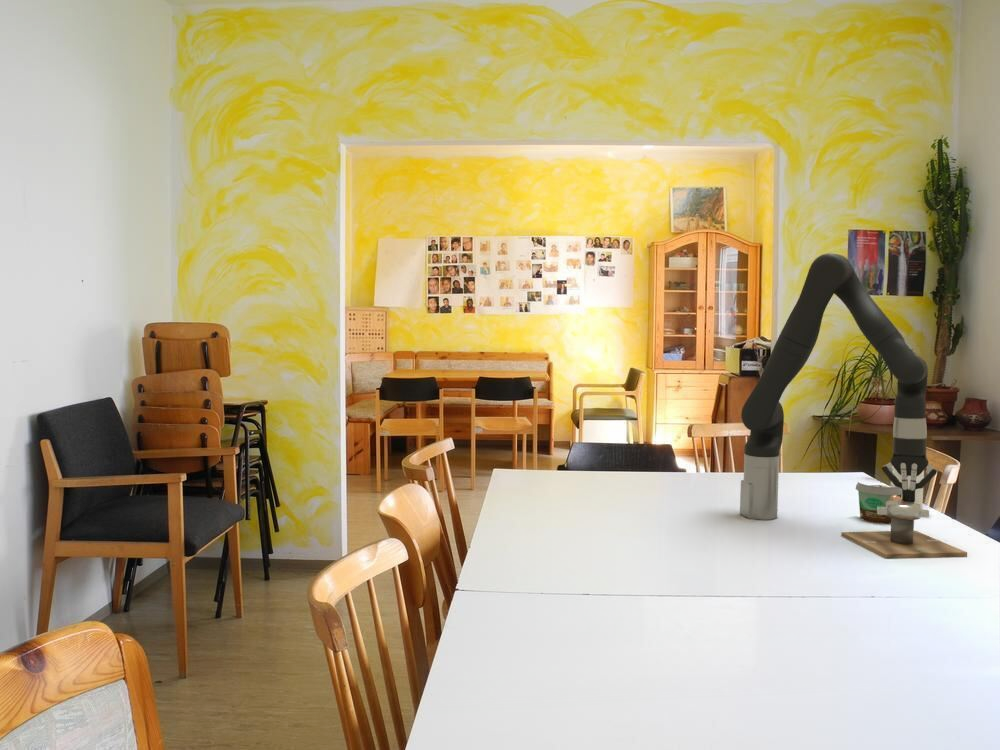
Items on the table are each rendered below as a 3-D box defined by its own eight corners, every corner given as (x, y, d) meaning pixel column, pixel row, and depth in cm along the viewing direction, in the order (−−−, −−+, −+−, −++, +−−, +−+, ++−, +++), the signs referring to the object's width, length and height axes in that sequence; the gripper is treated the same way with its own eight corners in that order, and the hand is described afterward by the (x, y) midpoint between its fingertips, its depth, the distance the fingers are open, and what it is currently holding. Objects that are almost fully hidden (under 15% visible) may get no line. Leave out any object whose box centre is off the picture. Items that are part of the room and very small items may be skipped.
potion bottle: (915, 510, 241) (917, 448, 240) (927, 517, 233) (929, 453, 232) (885, 510, 242) (887, 448, 241) (895, 516, 234) (898, 452, 233)
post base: (885, 558, 193) (886, 528, 192) (841, 535, 213) (842, 508, 212) (967, 556, 195) (968, 526, 194) (915, 534, 215) (916, 507, 214)
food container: (852, 521, 229) (853, 484, 228) (854, 516, 234) (855, 481, 233) (902, 526, 223) (904, 489, 222) (903, 521, 228) (905, 485, 228)
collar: (931, 521, 198) (932, 508, 198) (880, 518, 201) (880, 504, 201) (917, 506, 213) (918, 494, 213) (870, 503, 216) (870, 491, 216)
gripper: (879, 436, 209) (878, 504, 210) (939, 438, 203) (938, 509, 204) (881, 432, 216) (881, 499, 217) (939, 435, 209) (938, 504, 210)
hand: (908, 504), depth 210 cm, fingers closed
